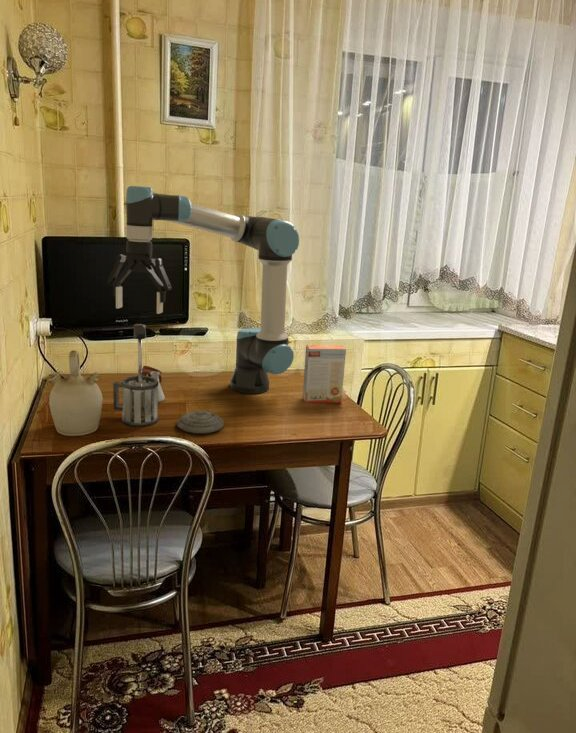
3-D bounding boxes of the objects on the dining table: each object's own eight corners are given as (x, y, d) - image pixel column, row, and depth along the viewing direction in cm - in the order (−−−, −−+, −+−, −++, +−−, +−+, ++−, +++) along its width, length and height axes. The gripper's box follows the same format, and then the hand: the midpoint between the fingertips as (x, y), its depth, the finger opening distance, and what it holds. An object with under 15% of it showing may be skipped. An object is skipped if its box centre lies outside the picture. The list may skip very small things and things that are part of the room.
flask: (149, 395, 219) (149, 368, 216) (168, 397, 218) (168, 371, 215) (140, 401, 212) (140, 374, 209) (160, 404, 211) (160, 377, 208)
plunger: (157, 386, 196) (158, 324, 190) (146, 394, 188) (146, 329, 182) (134, 383, 198) (133, 321, 192) (121, 391, 190) (120, 326, 184)
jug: (41, 436, 179) (37, 355, 172) (63, 417, 194) (59, 342, 186) (92, 441, 178) (90, 360, 171) (110, 421, 193) (108, 346, 186)
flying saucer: (174, 419, 199) (174, 404, 197) (219, 418, 203) (219, 402, 201) (179, 438, 185) (179, 421, 183) (227, 435, 189) (228, 419, 188)
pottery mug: (130, 383, 231) (137, 363, 232) (152, 392, 236) (159, 372, 237) (140, 385, 221) (148, 364, 222) (163, 394, 225) (171, 373, 227)
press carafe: (164, 416, 200) (164, 378, 197) (148, 428, 190) (148, 389, 186) (123, 409, 204) (123, 372, 200) (105, 421, 193) (105, 382, 189)
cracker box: (337, 397, 230) (343, 344, 224) (341, 403, 224) (347, 349, 218) (301, 397, 227) (305, 343, 221) (304, 403, 222) (309, 348, 216)
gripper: (183, 243, 181) (182, 312, 187) (107, 235, 186) (108, 303, 192) (173, 245, 174) (171, 317, 180) (94, 237, 179) (96, 307, 185)
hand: (139, 310), depth 186 cm, fingers open, 13 cm apart
